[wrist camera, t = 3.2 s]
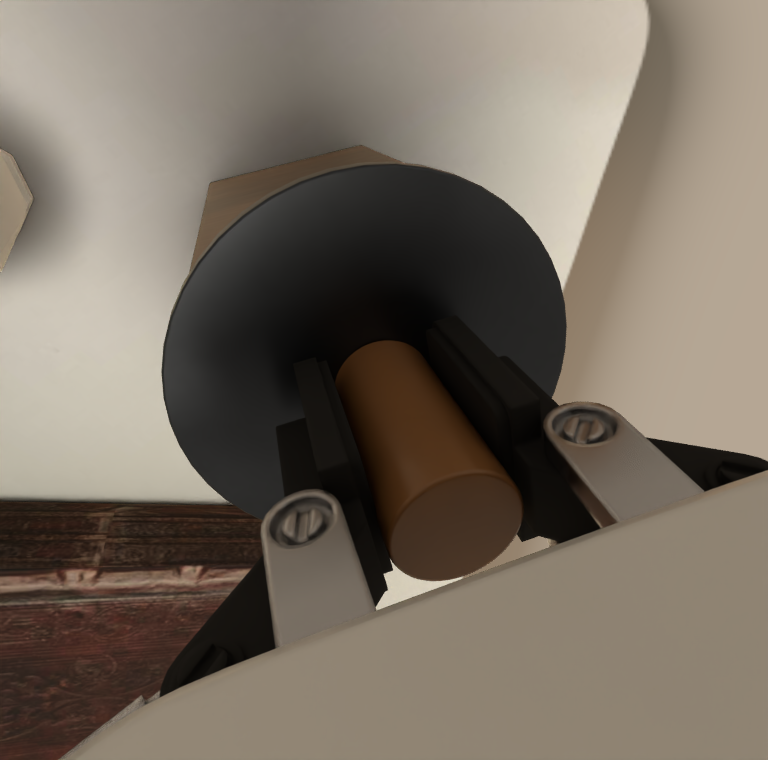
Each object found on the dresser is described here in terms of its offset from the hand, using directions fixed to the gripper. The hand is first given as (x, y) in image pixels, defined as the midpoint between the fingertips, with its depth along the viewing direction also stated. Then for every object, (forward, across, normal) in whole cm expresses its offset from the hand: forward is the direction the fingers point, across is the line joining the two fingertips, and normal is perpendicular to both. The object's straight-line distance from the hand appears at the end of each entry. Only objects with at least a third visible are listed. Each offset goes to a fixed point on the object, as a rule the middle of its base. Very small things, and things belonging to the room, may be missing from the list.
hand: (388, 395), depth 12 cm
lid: (+1, 0, 0) cm, 1 cm away
